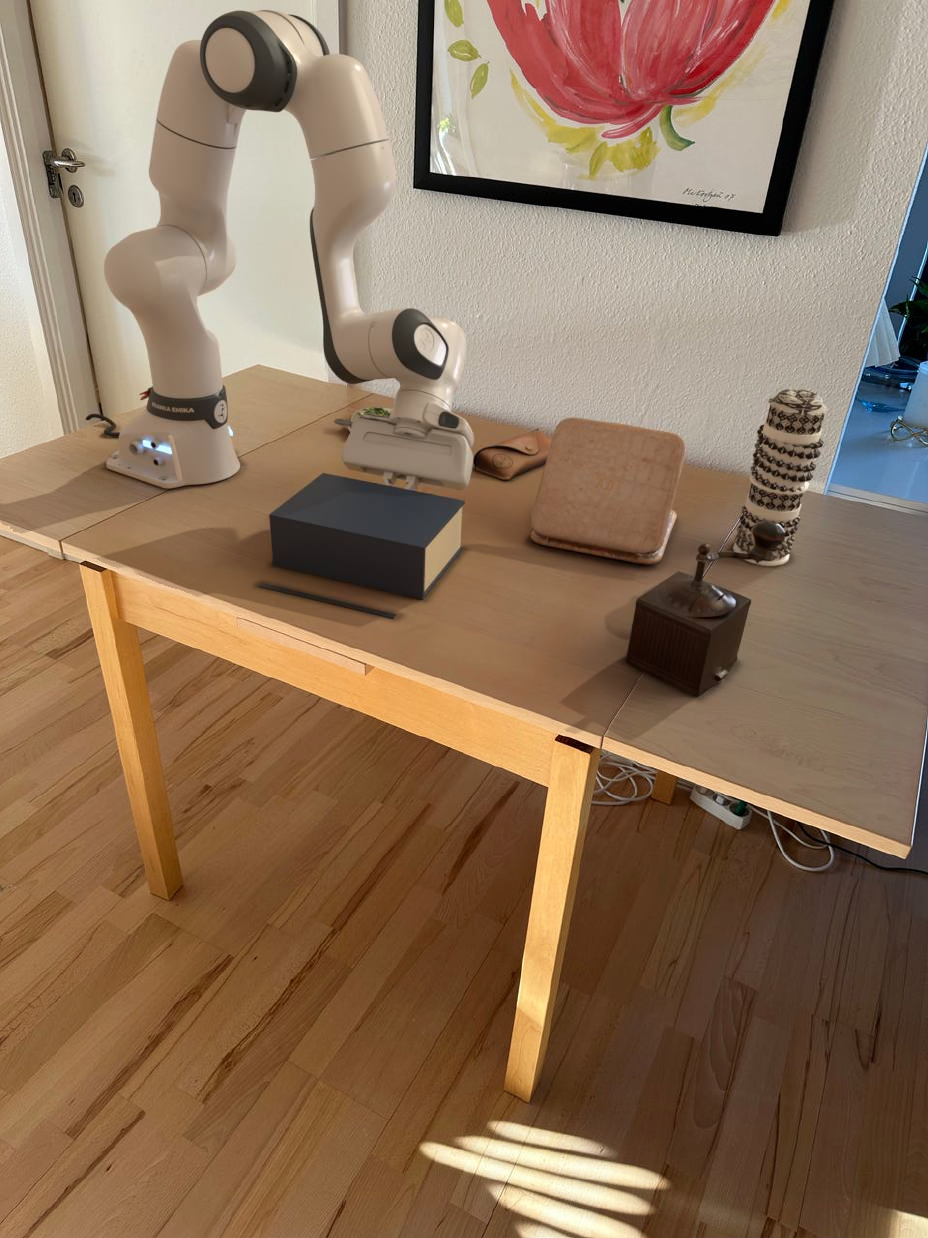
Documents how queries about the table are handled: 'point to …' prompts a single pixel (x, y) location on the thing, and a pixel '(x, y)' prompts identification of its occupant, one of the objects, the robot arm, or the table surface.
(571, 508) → the case
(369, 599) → the table surface
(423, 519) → the dictionary
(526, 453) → the sunglasses case
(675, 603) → the manual coffee grinder
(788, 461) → the white patterned cylinder
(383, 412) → the salad plate
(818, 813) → the table surface
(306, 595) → the dark grey thin rod
